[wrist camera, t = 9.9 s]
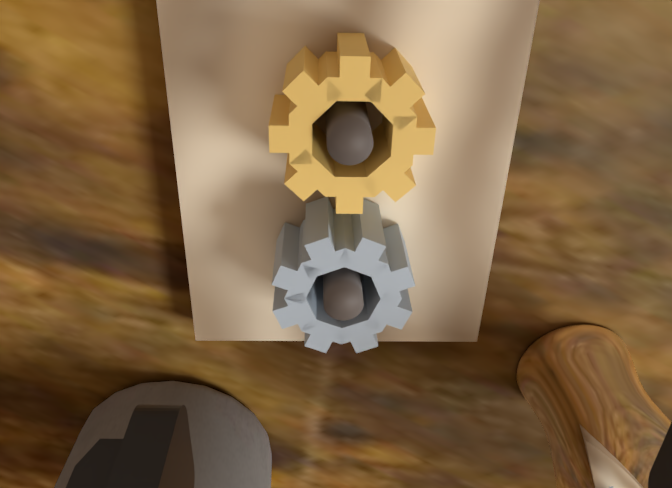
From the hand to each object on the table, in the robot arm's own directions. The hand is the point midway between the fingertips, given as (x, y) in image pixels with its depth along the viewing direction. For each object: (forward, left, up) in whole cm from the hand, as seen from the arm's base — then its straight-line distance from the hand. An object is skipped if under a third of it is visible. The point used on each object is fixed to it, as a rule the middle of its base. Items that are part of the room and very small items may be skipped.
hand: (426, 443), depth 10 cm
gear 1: (+1, 0, -17) cm, 17 cm away
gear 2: (+1, +7, -17) cm, 18 cm away
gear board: (+1, +1, -18) cm, 18 cm away
